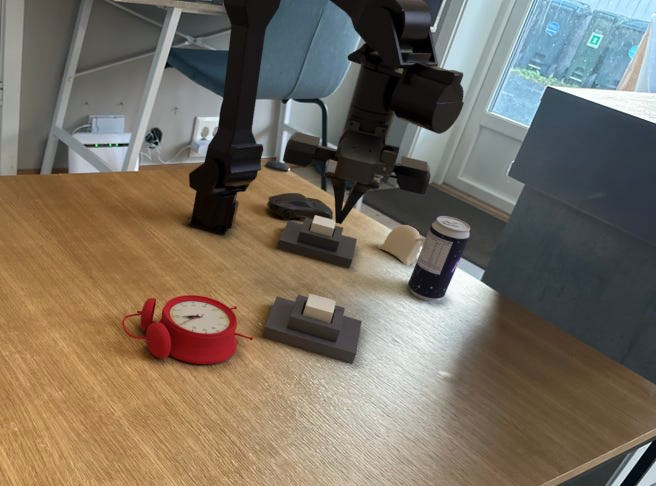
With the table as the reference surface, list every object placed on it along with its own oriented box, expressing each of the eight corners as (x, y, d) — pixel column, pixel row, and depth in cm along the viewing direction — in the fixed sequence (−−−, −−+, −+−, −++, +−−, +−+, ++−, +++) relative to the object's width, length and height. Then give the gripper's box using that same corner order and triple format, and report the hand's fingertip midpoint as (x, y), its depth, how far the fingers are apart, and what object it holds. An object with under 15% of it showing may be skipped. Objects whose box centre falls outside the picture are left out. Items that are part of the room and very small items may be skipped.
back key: (309, 232, 114) (312, 222, 113) (312, 224, 117) (315, 214, 116) (331, 238, 114) (334, 228, 113) (333, 230, 117) (336, 220, 116)
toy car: (333, 225, 127) (340, 205, 125) (270, 220, 124) (275, 199, 122) (323, 212, 131) (329, 192, 129) (262, 206, 129) (267, 186, 127)
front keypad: (261, 337, 91) (267, 314, 89) (273, 306, 99) (279, 284, 97) (352, 364, 89) (360, 341, 87) (358, 330, 97) (366, 309, 95)
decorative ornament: (392, 245, 124) (402, 216, 121) (428, 267, 118) (440, 238, 115) (376, 247, 122) (386, 219, 119) (412, 270, 116) (423, 241, 113)
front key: (302, 316, 91) (305, 305, 90) (306, 304, 94) (309, 293, 93) (329, 324, 91) (333, 313, 90) (332, 311, 93) (336, 300, 92)
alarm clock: (261, 341, 83) (145, 315, 78) (240, 382, 87) (126, 360, 81) (236, 296, 92) (129, 269, 86) (217, 335, 95) (112, 311, 89)
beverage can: (444, 306, 107) (475, 235, 100) (407, 298, 107) (436, 226, 101) (440, 290, 112) (470, 220, 105) (404, 281, 112) (432, 211, 105)
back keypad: (276, 249, 114) (282, 229, 113) (285, 229, 122) (290, 210, 120) (349, 269, 113) (355, 249, 111) (354, 247, 120) (360, 229, 118)
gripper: (291, 105, 83) (263, 226, 92) (450, 140, 81) (405, 262, 89) (303, 87, 93) (276, 199, 101) (446, 118, 90) (405, 231, 99)
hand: (338, 222), depth 97 cm, fingers closed
